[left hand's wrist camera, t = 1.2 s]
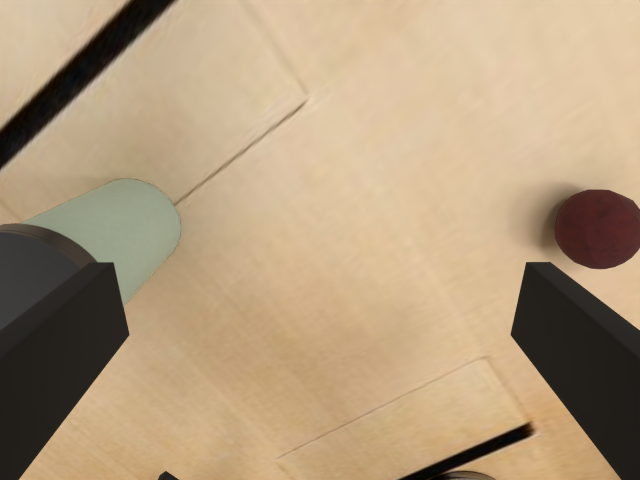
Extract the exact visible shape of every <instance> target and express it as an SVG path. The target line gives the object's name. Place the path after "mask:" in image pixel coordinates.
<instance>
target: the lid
mask: <svg viewBox="0 0 640 480" xmlns="http://www.w3.org/2000/svg"><path fill="white" fill-rule="evenodd" d="M89 262H97V261H96V259H95V258H94V257H93V256H92V255H91V254H90V253H89V252H88V251H86V250H85V249H84V248H83V247H82V246H80V245H79V244H78V243H76V242H74V241H73V240H71V239H70V238H68V237H66V236H64V235H62V234H60V233H58V232H56V231H53V230H50V229H48V228H44V227H40V226H36V225H30V224H4V225H0V330H2V329H3V328H4V327H6V326H7V325H8V324H9V323H11V322H12V321H13V320H15V319H16V318H17V317H19V316H20V315H21V314H23V313H24V312H25V311H26V310H28V309H29V308H30V307H32V306H33V305H34V304H36V303H37V302H38V301H40V300H41V299H42V298H43V297H45V296H46V295H47V294H49V293H50V292H51V291H53V290H54V289H55V288H57V287H58V286H59V285H60V284H62V283H63V282H64V281H66V280H67V279H68V278H70V277H71V276H72V275H74V274H75V273H76V272H77V271H79V270H80V269H81V268H83V267H84V266H85V265H87V264H88V263H89Z"/></svg>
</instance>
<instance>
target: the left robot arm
mask: <svg viewBox="0 0 640 480" xmlns="http://www.w3.org/2000/svg"><path fill="white" fill-rule="evenodd" d="M128 336H129V331H128V326H127V321H126V317H125V312H124V307H123V303H122V298H121V294H120V289H119V284H118V280H117V275H116V270H115V266H114V262H89V263H88V264H87V265H85V266H84V267H83V268H81V269H80V270H79V271H77V272H76V273H75V274H74V275H72V276H71V277H70V278H68V279H67V280H66V281H64V282H63V283H62V284H60V285H59V286H58V287H57V288H55V289H54V290H53V291H51V292H50V293H49V294H47V295H46V296H45V297H43V298H42V299H41V300H40V301H38V302H37V303H36V304H34V305H33V306H32V307H30V308H29V309H28V310H26V311H25V312H24V313H23V314H21V315H20V316H19V317H17V318H16V319H15V320H13V321H12V322H11V323H9V324H8V325H7V326H6V327H4V328H3V329H2V330H0V480H19V478H20V477H21V476H22V475H23V473H24V472H25V471H26V469H27V468H28V467H29V465H30V464H31V463H32V462H33V460H34V459H35V458H36V456H37V455H38V454H39V452H40V451H41V450H42V448H43V447H44V446H45V445H46V443H47V442H48V441H49V439H50V438H51V437H52V435H53V434H54V433H55V431H56V430H57V429H58V428H59V426H60V425H61V424H62V422H63V421H64V420H65V418H66V417H67V416H68V415H69V413H70V412H71V411H72V409H73V408H74V407H75V405H76V404H77V403H78V401H79V400H80V399H81V398H82V396H83V395H84V394H85V392H86V391H87V390H88V388H89V387H90V386H91V384H92V383H93V382H94V381H95V379H96V378H97V377H98V375H99V374H100V373H101V371H102V370H103V369H104V367H105V366H106V365H107V364H108V362H109V361H110V360H111V358H112V357H113V356H114V354H115V353H116V352H117V351H118V349H119V348H120V347H121V345H122V344H123V343H124V341H125V340H126V339H127V337H128ZM511 336H512V337H513V339H514V340H515V341H516V343H517V344H518V345H519V347H520V348H521V349H522V351H523V352H524V353H525V354H526V356H527V357H528V358H529V360H530V361H531V362H532V364H533V365H534V366H535V367H536V369H537V370H538V371H539V373H540V374H541V375H542V377H543V378H544V379H545V381H546V382H547V383H548V384H549V386H550V387H551V388H552V390H553V391H554V392H555V394H556V395H557V396H558V398H559V399H560V400H561V401H562V403H563V404H564V405H565V407H566V408H567V409H568V411H569V412H570V413H571V415H572V416H573V417H574V418H575V420H576V421H577V422H578V424H579V425H580V426H581V428H582V429H583V430H584V431H585V433H586V434H587V435H588V437H589V438H590V439H591V441H592V442H593V443H594V445H595V446H596V447H597V448H598V450H599V451H600V452H601V454H602V455H603V456H604V458H605V459H606V460H607V462H608V463H609V464H610V465H611V467H612V468H613V469H614V471H615V472H616V473H617V475H618V476H619V477H620V478H621V480H640V330H638V329H637V328H636V327H634V326H633V325H632V324H631V323H629V322H628V321H627V320H625V319H624V318H623V317H621V316H620V315H619V314H617V313H616V312H615V311H614V310H612V309H611V308H610V307H608V306H607V305H606V304H604V303H603V302H602V301H600V300H599V299H598V298H597V297H595V296H594V295H593V294H591V293H590V292H589V291H587V290H586V289H585V288H583V287H582V286H581V285H580V284H578V283H577V282H576V281H574V280H573V279H572V278H570V277H569V276H568V275H566V274H565V273H564V272H563V271H561V270H560V269H559V268H557V267H556V266H555V265H553V264H552V263H551V262H526V266H525V270H524V275H523V280H522V284H521V289H520V294H519V298H518V303H517V307H516V312H515V317H514V321H513V326H512V331H511Z"/></svg>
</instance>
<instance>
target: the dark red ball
mask: <svg viewBox="0 0 640 480" xmlns="http://www.w3.org/2000/svg"><path fill="white" fill-rule="evenodd" d="M555 238H556V241H557V243H558V245H559V247H560V248H561V250H562V251H563V253H565V254H566V255H567V256H568V257H569V258H570V259H571V260H573V261H574V262H575V263H578V264H580V265H583V266H586V267H588V268H591V269H607V268H612V267H616V266H618V265H620V264H623V263H624V262H626V261H627V260H629V259H630V258H632V257H633V256H634V255H635V253H636V252H637V251H638V250H639V248H640V209H639V208H638V206H637V205H636V204H635V202H634V201H633V200H631V199H629V198H627V197H625V196H623V195H620V194H617V193H615V192H612V191H610V190H586V191H583V192H580V193H577V194H575V195H573V196H572V197H571V198H569V199H568V200H567V201H566V202H565V203H564V204H563V206H562V207H561V209H560V210H559V213H558V217H557V220H556V224H555Z"/></svg>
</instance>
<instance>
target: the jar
mask: <svg viewBox="0 0 640 480" xmlns="http://www.w3.org/2000/svg"><path fill="white" fill-rule="evenodd" d="M20 224H30V225H36V226H40V227H44V228H48V229H50V230H53V231H56V232H58V233H60V234H62V235H64V236H66V237H68V238H70V239H71V240H73V241H74V242H76V243H78V244H79V245H80V246H82V247H83V248H84V249H85V250H86V251H88V252H89V253H90V254H91V255H92V256H93V257H94V258H95V259H96V261H97V262H114V266H115V270H116V275H117V280H118V284H119V289H120V294H121V298H122V303H123V307H124V306H125V305H126V304H127V302H128V301H129V300H130V299H131V298H132V297H133V296H134V295H135V293H136V292H137V291H138V290H139V289H140V288H141V287H142V286H143V284H144V283H145V282H146V281H147V280H148V279H149V278H150V277H151V275H152V274H153V273H154V272H155V271H156V270H157V269H158V268H159V266H160V265H161V264H162V263H163V262H164V261H165V260H166V259H167V257H168V256H169V255H170V254H171V253H172V252H173V250H174V249H175V248H176V246H177V244H178V242H179V239H180V234H181V224H180V219H179V215H178V213H177V210H176V208H175V206H174V205H173V203H172V202H171V201H170V199H169V198H168V197H167V196H166V195H165V194H164V193H163V192H162V191H160V190H159V189H158V188H156V187H154V186H153V185H151V184H148V183H146V182H143V181H140V180H135V179H119V180H115V181H112V182H109V183H107V184H105V185H103V186H100V187H98V188H96V189H94V190H92V191H89V192H87V193H85V194H83V195H81V196H79V197H76V198H74V199H72V200H70V201H68V202H65V203H63V204H61V205H59V206H57V207H55V208H52V209H50V210H48V211H46V212H44V213H41V214H39V215H37V216H35V217H33V218H30V219H28V220H26V221H24V222H22V223H20Z"/></svg>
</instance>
